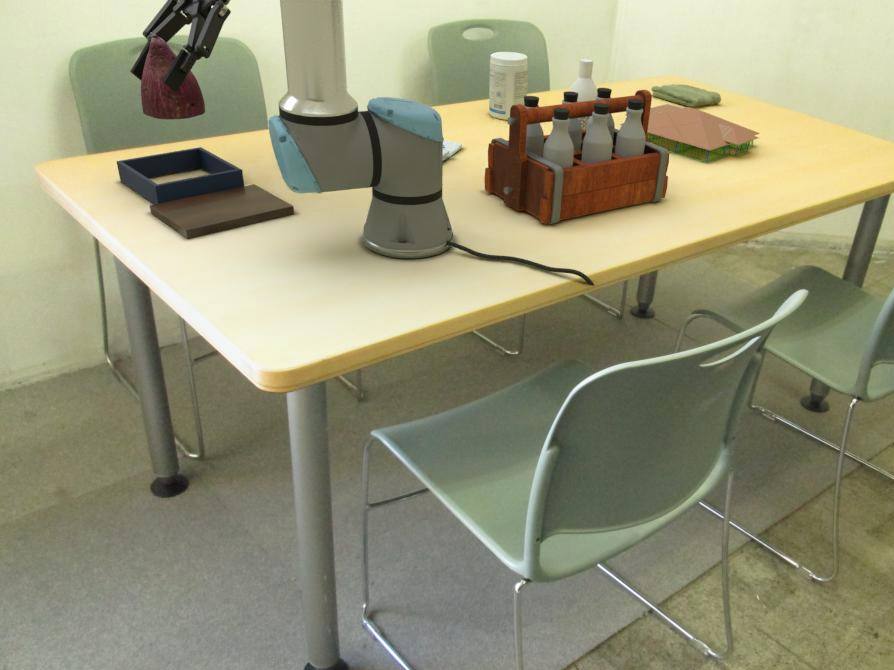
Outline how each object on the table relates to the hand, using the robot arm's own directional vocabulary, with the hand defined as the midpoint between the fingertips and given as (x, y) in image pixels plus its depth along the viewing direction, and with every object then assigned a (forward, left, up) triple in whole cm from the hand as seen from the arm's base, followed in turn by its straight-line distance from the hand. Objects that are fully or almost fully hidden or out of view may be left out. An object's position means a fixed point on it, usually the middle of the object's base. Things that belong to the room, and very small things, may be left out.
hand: (153, 81), depth 146 cm
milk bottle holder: (-44, -63, -20) cm, 79 cm away
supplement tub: (+8, -92, -20) cm, 94 cm away
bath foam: (-23, -86, -20) cm, 91 cm away
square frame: (+3, -3, -20) cm, 21 cm away
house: (-32, -115, -20) cm, 121 cm away
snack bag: (-4, -52, -20) cm, 56 cm away
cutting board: (-14, -3, -20) cm, 25 cm away
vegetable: (+1, -3, -6) cm, 7 cm away
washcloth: (-6, -149, -20) cm, 150 cm away
